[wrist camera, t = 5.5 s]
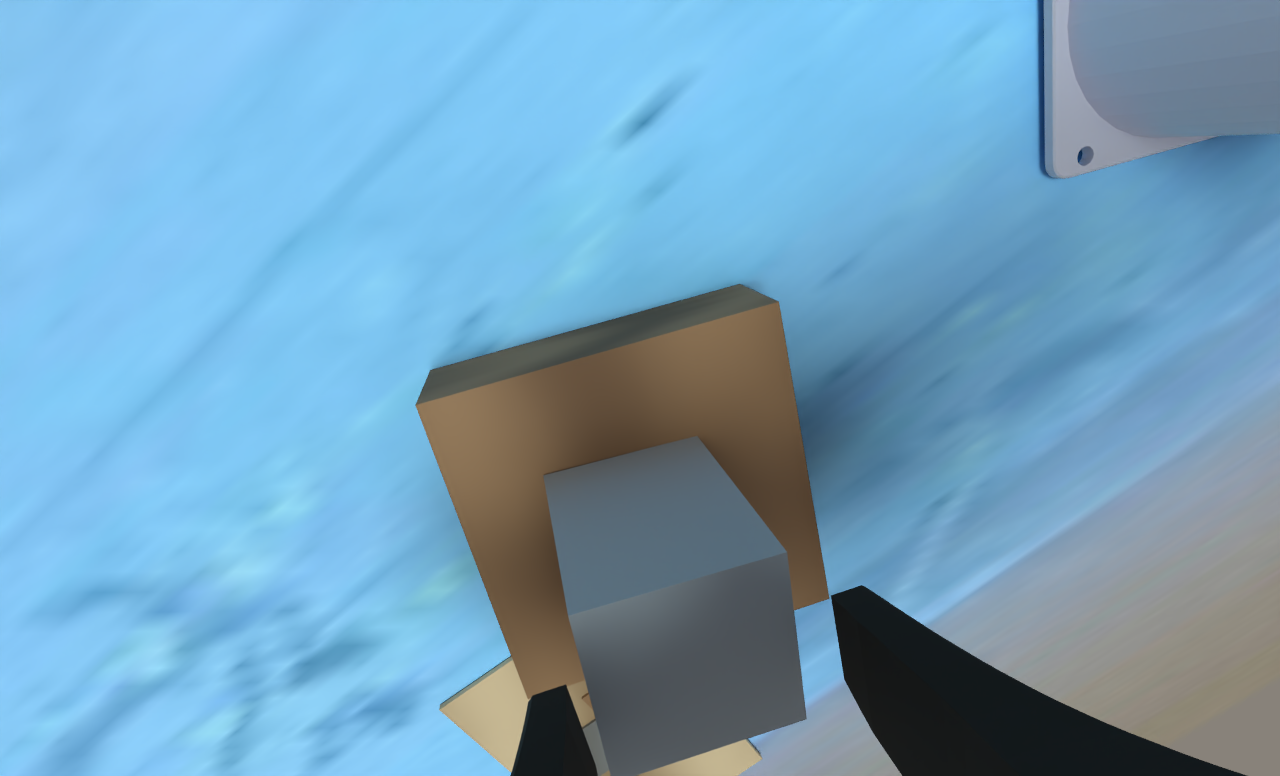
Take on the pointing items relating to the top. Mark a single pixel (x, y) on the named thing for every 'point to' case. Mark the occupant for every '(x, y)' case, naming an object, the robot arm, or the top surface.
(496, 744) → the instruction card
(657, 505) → the gray brick
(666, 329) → the walnut slab
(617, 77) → the top surface
